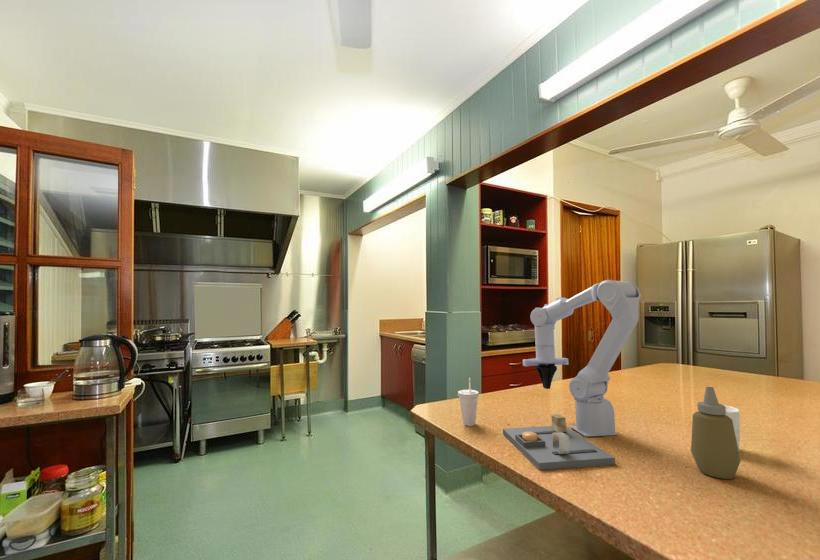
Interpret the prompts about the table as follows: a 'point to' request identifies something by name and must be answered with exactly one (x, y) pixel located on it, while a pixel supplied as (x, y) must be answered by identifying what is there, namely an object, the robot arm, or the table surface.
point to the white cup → (734, 421)
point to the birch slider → (558, 423)
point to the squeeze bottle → (714, 439)
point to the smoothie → (468, 405)
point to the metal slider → (561, 443)
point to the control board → (548, 458)
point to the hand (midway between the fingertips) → (546, 388)
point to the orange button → (529, 436)
